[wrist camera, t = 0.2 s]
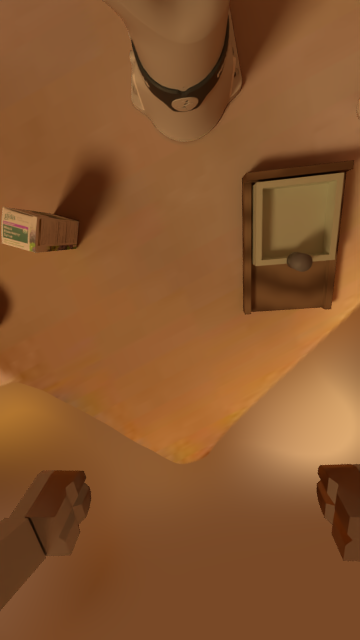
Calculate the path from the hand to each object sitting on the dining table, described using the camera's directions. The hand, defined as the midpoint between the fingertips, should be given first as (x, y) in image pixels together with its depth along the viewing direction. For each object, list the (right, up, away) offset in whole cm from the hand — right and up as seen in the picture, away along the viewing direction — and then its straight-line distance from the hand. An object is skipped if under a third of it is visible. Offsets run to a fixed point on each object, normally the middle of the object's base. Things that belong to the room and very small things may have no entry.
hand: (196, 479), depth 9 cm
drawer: (+20, +24, +39) cm, 50 cm away
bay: (+21, +20, +41) cm, 51 cm away
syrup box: (-25, +24, +44) cm, 56 cm away
